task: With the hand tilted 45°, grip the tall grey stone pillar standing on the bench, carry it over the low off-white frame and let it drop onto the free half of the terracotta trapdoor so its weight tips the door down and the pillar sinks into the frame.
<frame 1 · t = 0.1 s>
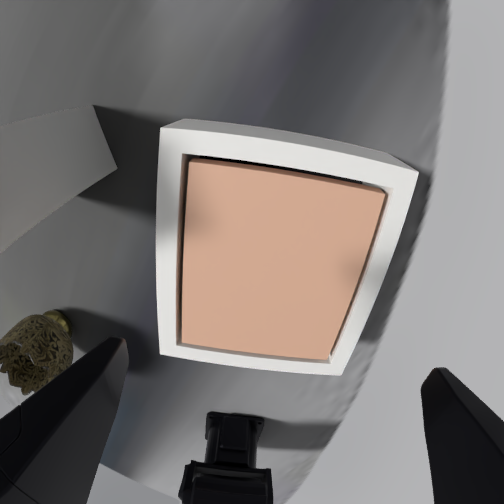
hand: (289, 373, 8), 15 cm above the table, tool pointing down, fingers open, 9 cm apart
stone pillar: (77, 150, 20), on the table
trapdoor: (270, 261, 20), point 3 cm above the table, hinge at 0.0°
trapdoor frame: (270, 240, 23), on the table
cup: (61, 320, 28), on the table
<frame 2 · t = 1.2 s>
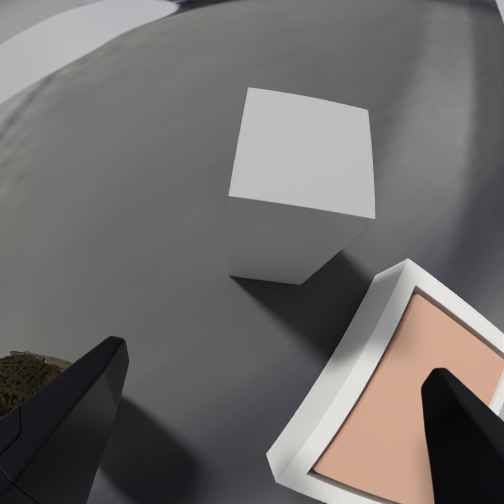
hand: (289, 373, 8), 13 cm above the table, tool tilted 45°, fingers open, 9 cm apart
stone pillar: (268, 246, 23), on the table
trapdoor: (414, 410, 17), point 3 cm above the table, hinge at 0.0°
trapdoor frame: (394, 404, 20), on the table
cup: (88, 401, 19), on the table
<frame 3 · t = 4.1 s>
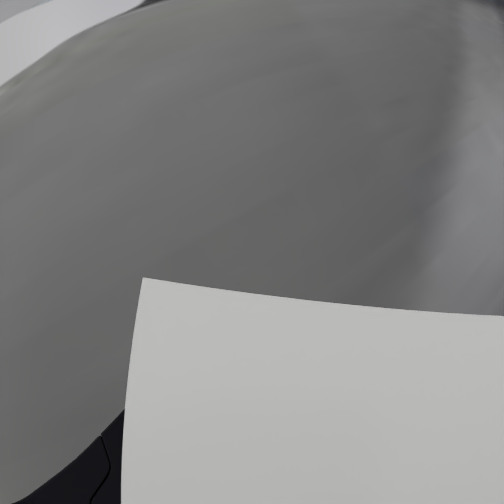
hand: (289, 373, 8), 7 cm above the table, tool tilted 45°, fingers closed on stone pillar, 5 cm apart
stone pillar: (260, 388, 14), on the table, touching gripper
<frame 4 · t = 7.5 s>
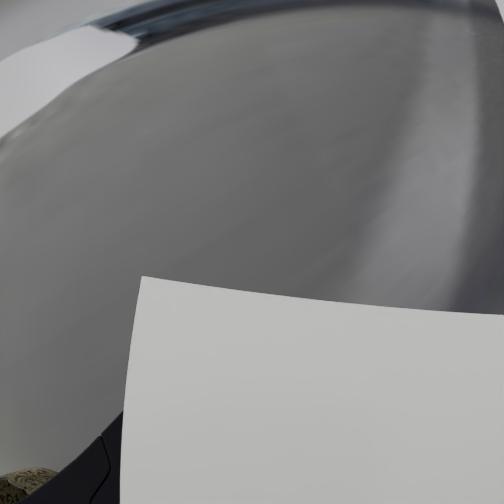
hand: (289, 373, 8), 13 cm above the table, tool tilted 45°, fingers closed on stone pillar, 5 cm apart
stone pillar: (260, 388, 14), point 7 cm above the table, touching gripper
cup: (72, 488, 17), on the table
when the fingers open (13 cm above the table, at t = 11.0 s): stone pillar drops 2 cm, resting on trapdoor.
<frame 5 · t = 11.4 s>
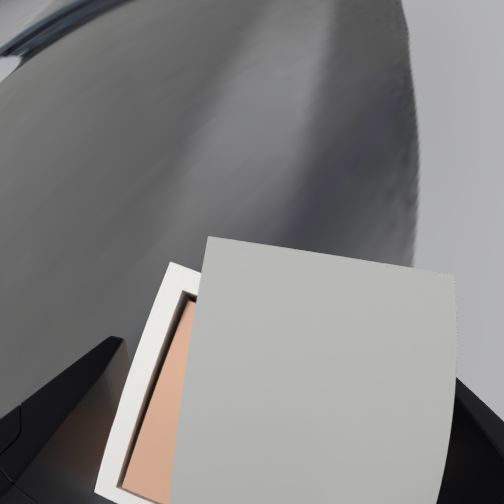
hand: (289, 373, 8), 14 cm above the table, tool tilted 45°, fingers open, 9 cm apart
stone pillar: (256, 381, 16), point 5 cm above the table, tilted 6°, touching trapdoor
trapdoor: (237, 425, 17), point 3 cm above the table, hinge at -4.5°, touching stone pillar
trapdoor frame: (236, 413, 20), on the table
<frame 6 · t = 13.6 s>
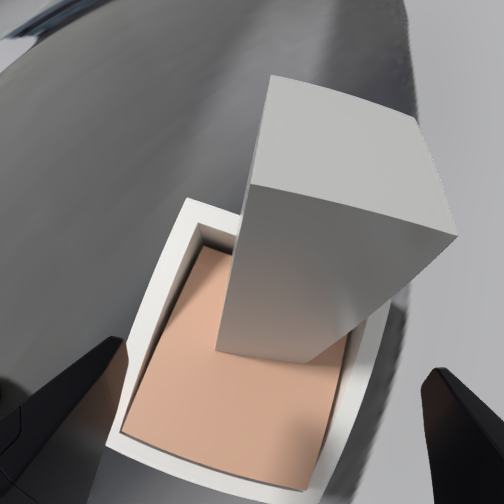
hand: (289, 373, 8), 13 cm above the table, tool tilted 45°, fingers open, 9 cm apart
stone pillar: (265, 316, 18), point 4 cm above the table, tilted 17°, touching trapdoor, trapdoor frame
trapdoor: (245, 371, 18), point 3 cm above the table, hinge at -17.4°, touching stone pillar
trapdoor frame: (246, 360, 21), on the table
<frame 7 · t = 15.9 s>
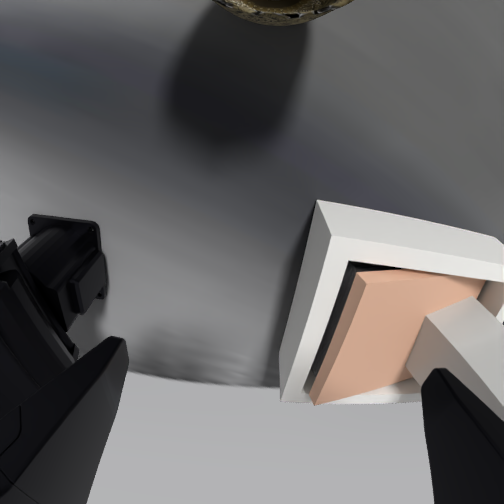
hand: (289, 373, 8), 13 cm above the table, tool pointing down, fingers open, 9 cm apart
stone pillar: (439, 331, 20), point 4 cm above the table, tilted 17°, touching trapdoor, trapdoor frame
trapdoor: (396, 320, 20), point 3 cm above the table, hinge at -17.5°, touching stone pillar
trapdoor frame: (391, 298, 23), on the table
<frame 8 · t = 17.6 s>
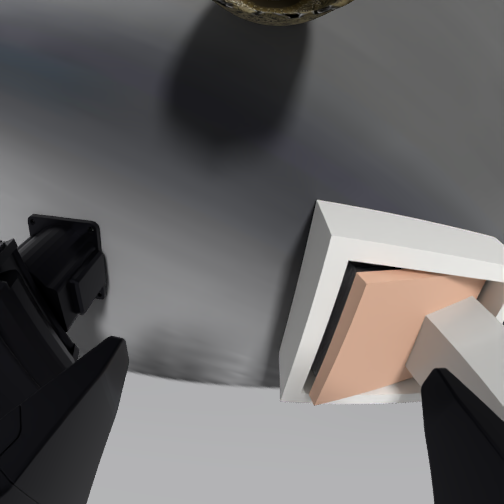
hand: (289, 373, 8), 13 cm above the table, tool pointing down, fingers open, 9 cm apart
stone pillar: (439, 331, 20), point 4 cm above the table, tilted 17°, touching trapdoor, trapdoor frame
trapdoor: (396, 320, 20), point 3 cm above the table, hinge at -17.5°, touching stone pillar
trapdoor frame: (391, 298, 23), on the table
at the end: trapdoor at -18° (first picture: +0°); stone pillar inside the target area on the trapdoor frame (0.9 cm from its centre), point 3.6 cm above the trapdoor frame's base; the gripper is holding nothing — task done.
